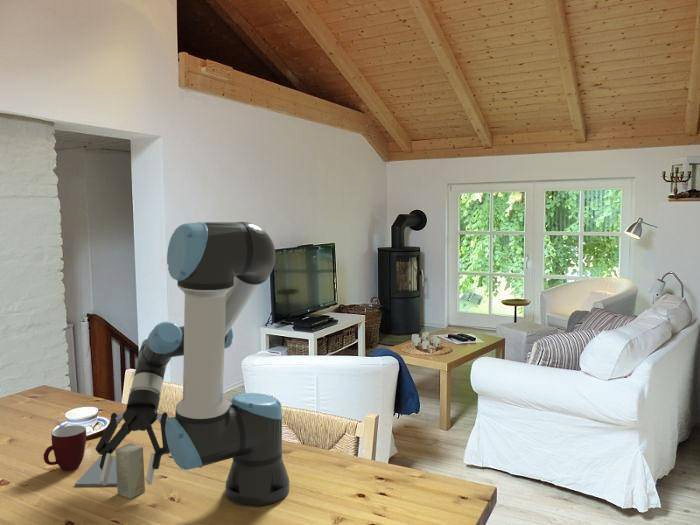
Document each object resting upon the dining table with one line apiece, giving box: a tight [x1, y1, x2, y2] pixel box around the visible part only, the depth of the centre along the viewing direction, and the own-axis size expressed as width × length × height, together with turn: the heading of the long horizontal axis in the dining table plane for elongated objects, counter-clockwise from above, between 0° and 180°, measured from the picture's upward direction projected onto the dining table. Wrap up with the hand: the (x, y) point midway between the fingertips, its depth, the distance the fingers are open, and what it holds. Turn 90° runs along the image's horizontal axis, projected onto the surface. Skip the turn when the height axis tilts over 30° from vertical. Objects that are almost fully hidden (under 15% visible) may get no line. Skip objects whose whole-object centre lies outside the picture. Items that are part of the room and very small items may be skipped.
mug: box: [43, 424, 87, 472], centre depth 149 cm, size 10×8×10 cm
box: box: [114, 442, 146, 499], centre depth 138 cm, size 5×4×11 cm
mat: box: [74, 455, 117, 487], centre depth 149 cm, size 11×16×1 cm
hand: (126, 482), depth 135 cm, fingers open, 10 cm apart
